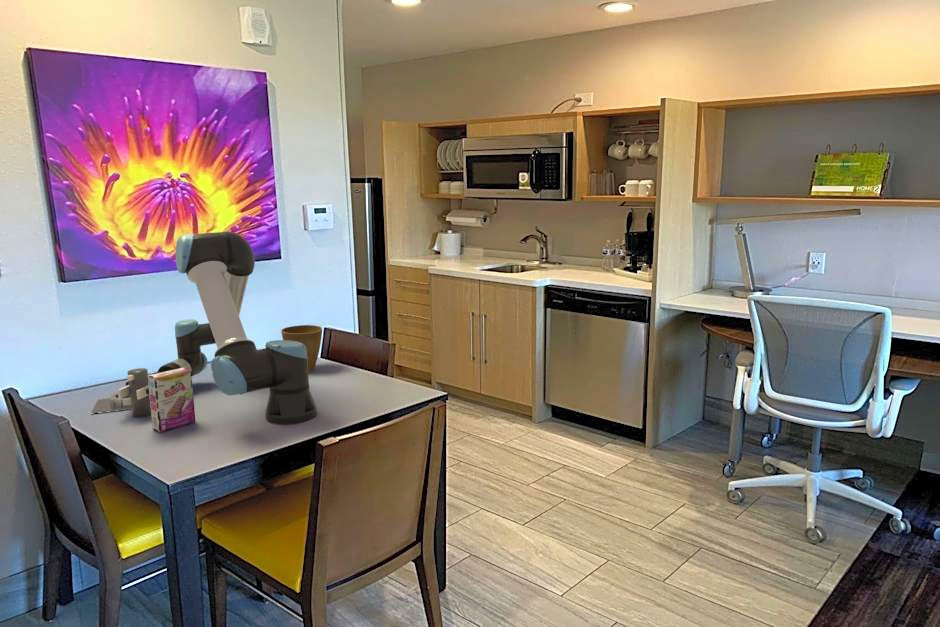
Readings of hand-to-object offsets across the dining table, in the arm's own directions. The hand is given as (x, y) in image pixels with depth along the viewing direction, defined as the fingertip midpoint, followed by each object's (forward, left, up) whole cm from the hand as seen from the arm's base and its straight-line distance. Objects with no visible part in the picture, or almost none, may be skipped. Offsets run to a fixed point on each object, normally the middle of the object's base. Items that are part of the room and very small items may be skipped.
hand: (128, 394), depth 204 cm
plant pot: (+34, -56, -8) cm, 66 cm away
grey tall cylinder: (+4, -3, -8) cm, 10 cm away
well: (+17, +2, -8) cm, 19 cm away
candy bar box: (-11, -13, -8) cm, 18 cm away
